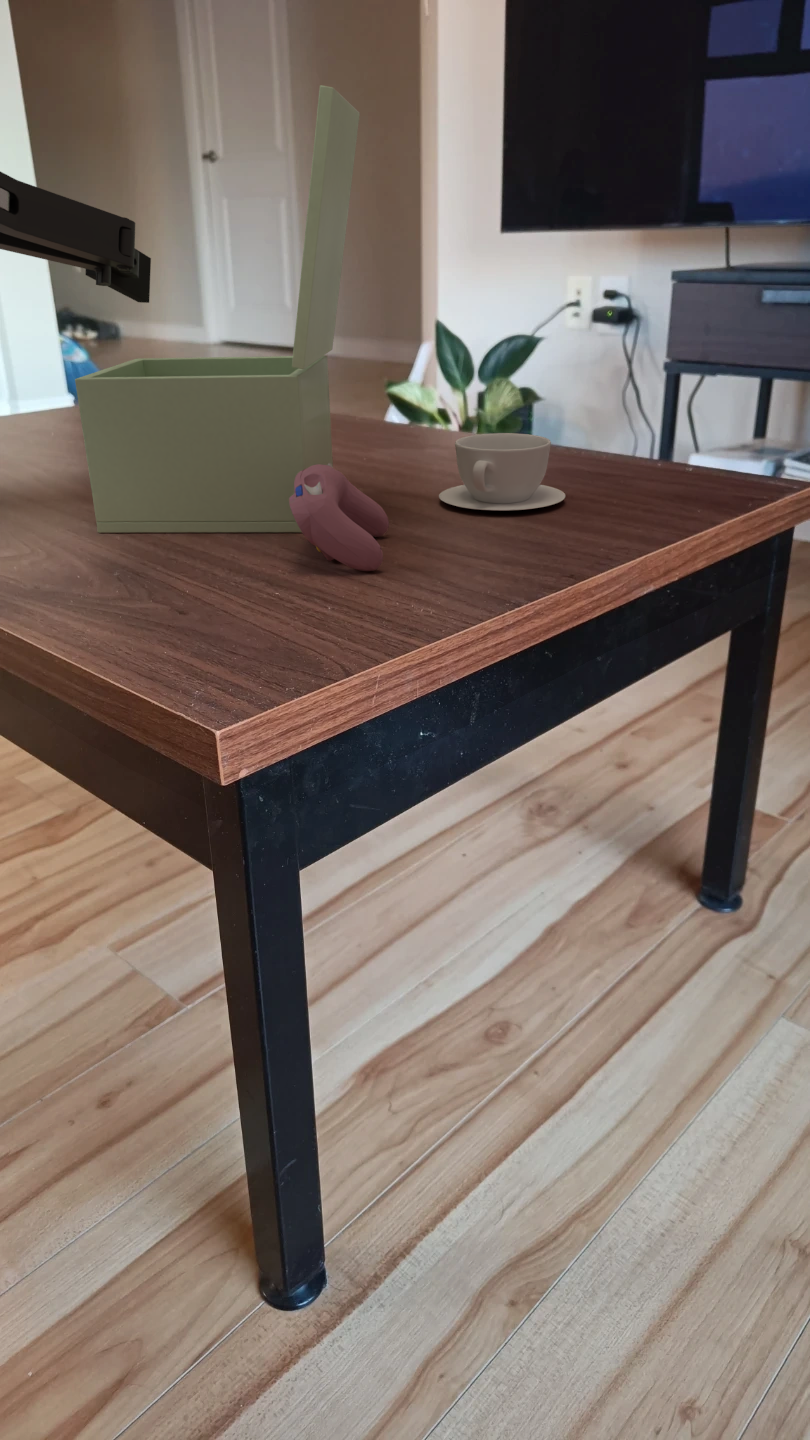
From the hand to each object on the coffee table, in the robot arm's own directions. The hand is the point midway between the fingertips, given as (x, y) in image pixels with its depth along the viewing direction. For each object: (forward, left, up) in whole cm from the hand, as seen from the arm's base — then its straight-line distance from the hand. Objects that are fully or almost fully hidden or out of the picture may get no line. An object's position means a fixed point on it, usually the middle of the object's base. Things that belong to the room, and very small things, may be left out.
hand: (49, 277), depth 67 cm
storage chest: (+4, +10, -17) cm, 21 cm away
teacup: (+23, +21, -17) cm, 36 cm away
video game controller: (+19, +3, -17) cm, 26 cm away
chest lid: (+13, +14, +2) cm, 19 cm away
